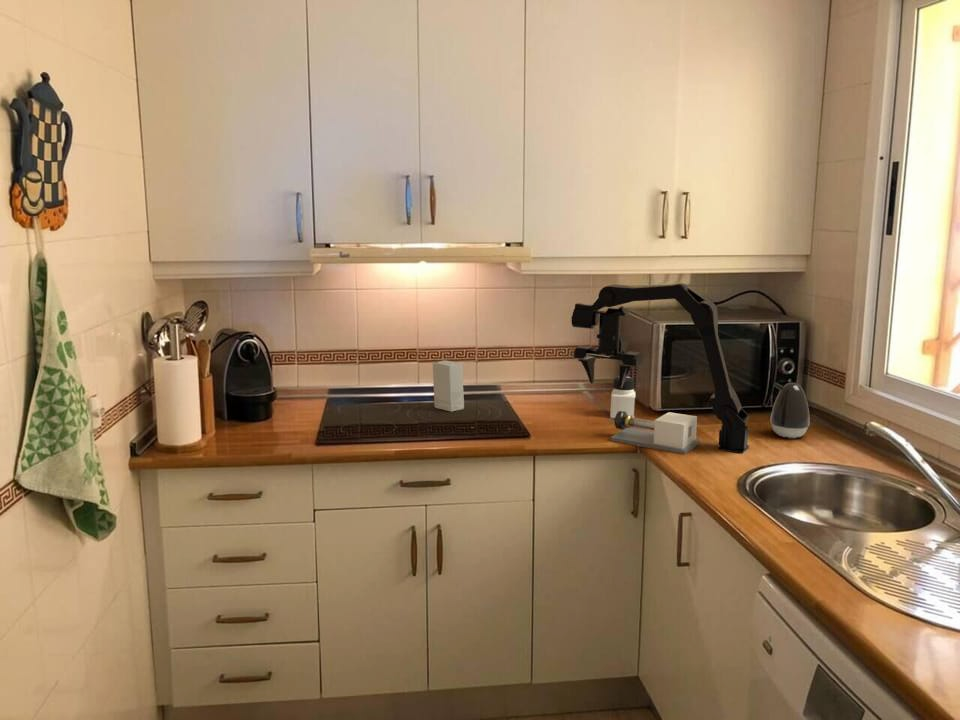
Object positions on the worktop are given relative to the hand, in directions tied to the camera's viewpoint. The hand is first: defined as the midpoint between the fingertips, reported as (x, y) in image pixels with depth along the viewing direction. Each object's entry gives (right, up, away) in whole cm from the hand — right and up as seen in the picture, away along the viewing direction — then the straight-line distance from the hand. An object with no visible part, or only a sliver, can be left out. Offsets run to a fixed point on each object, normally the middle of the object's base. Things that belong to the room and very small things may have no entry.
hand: (606, 385), depth 224 cm
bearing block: (+12, -15, -6) cm, 21 cm away
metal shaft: (+10, -13, -5) cm, 17 cm away
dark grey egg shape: (+51, -14, 0) cm, 53 cm away
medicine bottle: (+8, -10, +20) cm, 24 cm away
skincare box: (-45, -8, +28) cm, 54 cm away
